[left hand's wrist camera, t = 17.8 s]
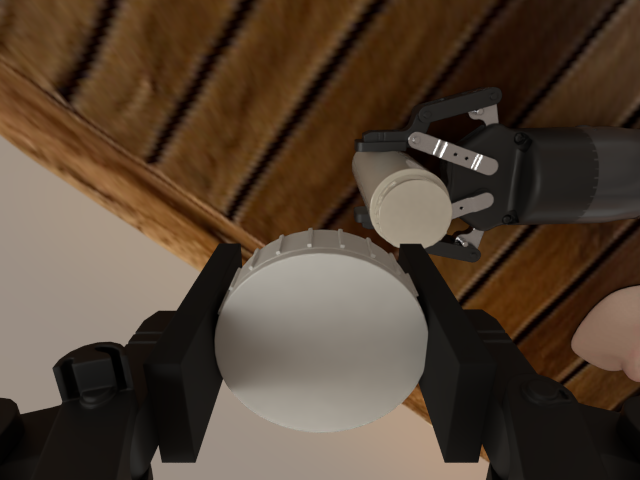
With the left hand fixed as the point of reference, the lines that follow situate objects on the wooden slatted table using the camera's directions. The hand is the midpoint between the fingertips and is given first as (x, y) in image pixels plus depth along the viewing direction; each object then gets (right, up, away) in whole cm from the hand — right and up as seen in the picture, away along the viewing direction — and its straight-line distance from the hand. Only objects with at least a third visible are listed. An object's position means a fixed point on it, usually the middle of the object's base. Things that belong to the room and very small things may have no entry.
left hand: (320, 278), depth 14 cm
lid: (0, -1, -4) cm, 4 cm away
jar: (+6, +8, +23) cm, 25 cm away
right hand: (+3, +6, +17) cm, 18 cm away
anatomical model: (+35, -8, +29) cm, 46 cm away
